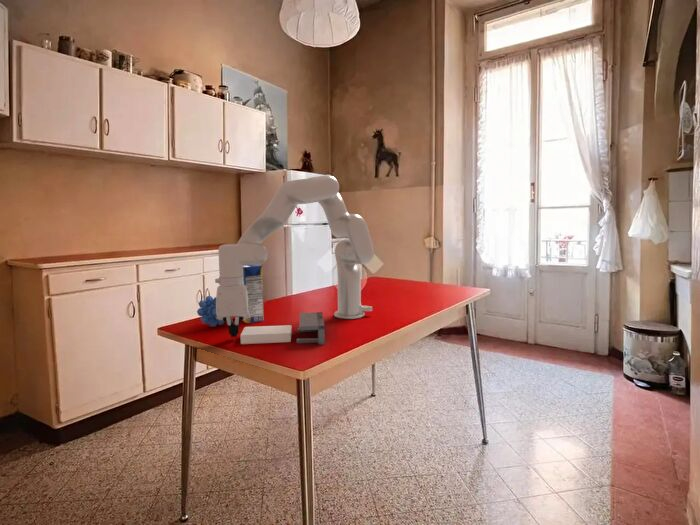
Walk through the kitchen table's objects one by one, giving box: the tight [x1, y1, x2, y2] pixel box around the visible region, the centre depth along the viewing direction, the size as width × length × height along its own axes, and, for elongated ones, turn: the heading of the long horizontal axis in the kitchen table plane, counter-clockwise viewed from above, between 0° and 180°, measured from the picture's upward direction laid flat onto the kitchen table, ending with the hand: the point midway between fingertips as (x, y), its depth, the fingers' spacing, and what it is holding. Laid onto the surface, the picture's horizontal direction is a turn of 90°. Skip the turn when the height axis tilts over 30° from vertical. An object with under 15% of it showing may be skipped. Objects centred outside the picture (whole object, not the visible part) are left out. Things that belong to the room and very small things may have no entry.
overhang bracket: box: [296, 311, 326, 346], centre depth 135 cm, size 9×18×6 cm, turn 6°
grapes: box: [196, 295, 225, 328], centre depth 147 cm, size 12×7×12 cm, turn 131°
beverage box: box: [242, 264, 265, 324], centre depth 158 cm, size 7×11×22 cm, turn 33°
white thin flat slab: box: [239, 324, 293, 345], centre depth 133 cm, size 16×10×3 cm, turn 96°
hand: (234, 335), depth 132 cm, fingers closed
